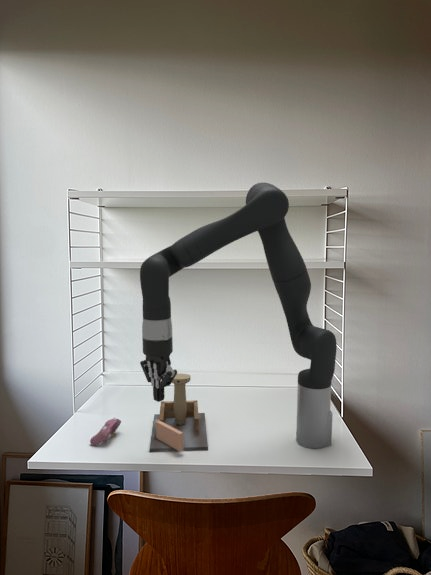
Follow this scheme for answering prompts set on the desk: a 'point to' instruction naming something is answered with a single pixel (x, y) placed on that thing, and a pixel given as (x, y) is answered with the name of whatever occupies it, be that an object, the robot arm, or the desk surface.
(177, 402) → the handle
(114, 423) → the mauve rounded lump
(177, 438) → the gate
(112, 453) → the desk surface
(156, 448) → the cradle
